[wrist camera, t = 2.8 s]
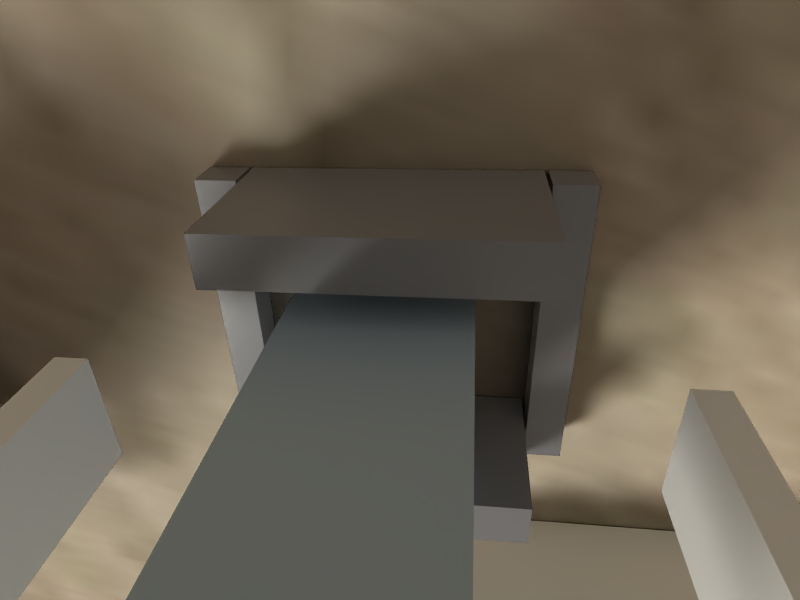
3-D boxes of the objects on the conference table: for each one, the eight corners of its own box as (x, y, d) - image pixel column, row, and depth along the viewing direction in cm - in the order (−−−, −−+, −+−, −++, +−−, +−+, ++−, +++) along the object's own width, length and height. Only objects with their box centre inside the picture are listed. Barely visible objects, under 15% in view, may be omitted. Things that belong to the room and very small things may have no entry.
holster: (210, 167, 15) (128, 232, 11) (593, 170, 13) (632, 244, 10) (258, 414, 19) (208, 518, 15) (555, 431, 18) (574, 547, 14)
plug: (317, 239, 15) (-18, 827, 5) (479, 243, 15) (483, 902, 4) (331, 368, 17) (116, 971, 7) (473, 376, 17) (466, 1031, 7)
